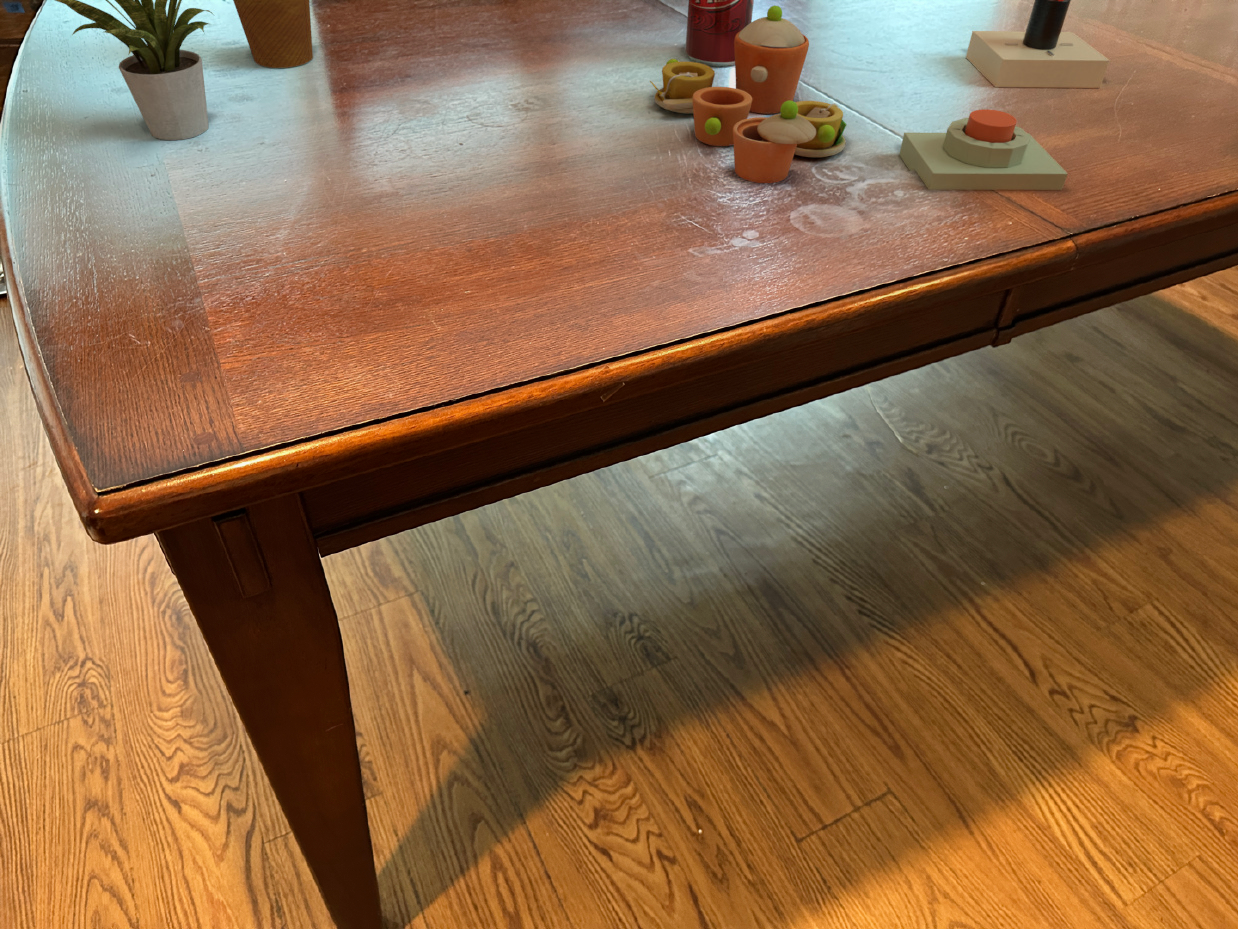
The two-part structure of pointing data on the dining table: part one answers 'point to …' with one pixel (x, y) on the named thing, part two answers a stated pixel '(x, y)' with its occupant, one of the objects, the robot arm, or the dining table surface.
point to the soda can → (715, 29)
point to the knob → (1045, 23)
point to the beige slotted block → (1036, 61)
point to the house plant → (158, 63)
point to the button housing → (980, 161)
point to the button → (990, 126)
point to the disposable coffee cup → (277, 31)
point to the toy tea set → (757, 102)
